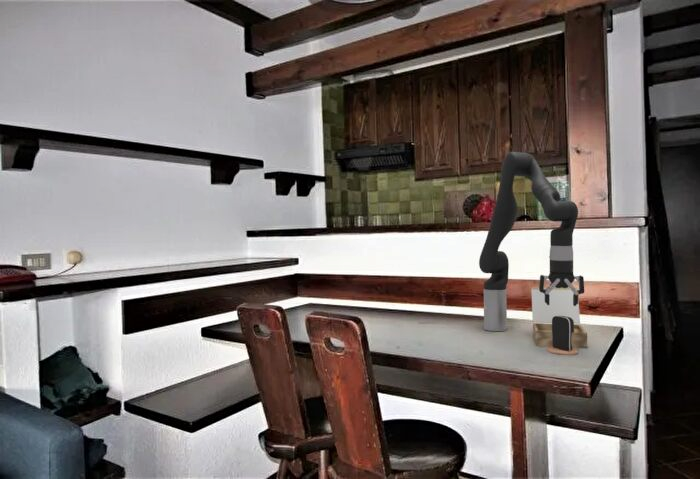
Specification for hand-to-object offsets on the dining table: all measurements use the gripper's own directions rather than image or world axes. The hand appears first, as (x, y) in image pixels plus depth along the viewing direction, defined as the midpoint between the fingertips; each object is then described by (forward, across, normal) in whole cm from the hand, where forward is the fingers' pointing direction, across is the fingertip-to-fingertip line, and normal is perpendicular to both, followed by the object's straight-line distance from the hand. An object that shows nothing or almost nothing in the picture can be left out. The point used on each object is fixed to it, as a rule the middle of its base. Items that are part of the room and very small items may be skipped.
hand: (561, 305), depth 167 cm
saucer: (+16, 0, 0) cm, 16 cm away
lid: (+4, +1, +22) cm, 23 cm away
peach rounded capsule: (+16, +6, +16) cm, 24 cm away
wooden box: (+16, +1, +13) cm, 21 cm away
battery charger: (+15, +1, 0) cm, 16 cm away
